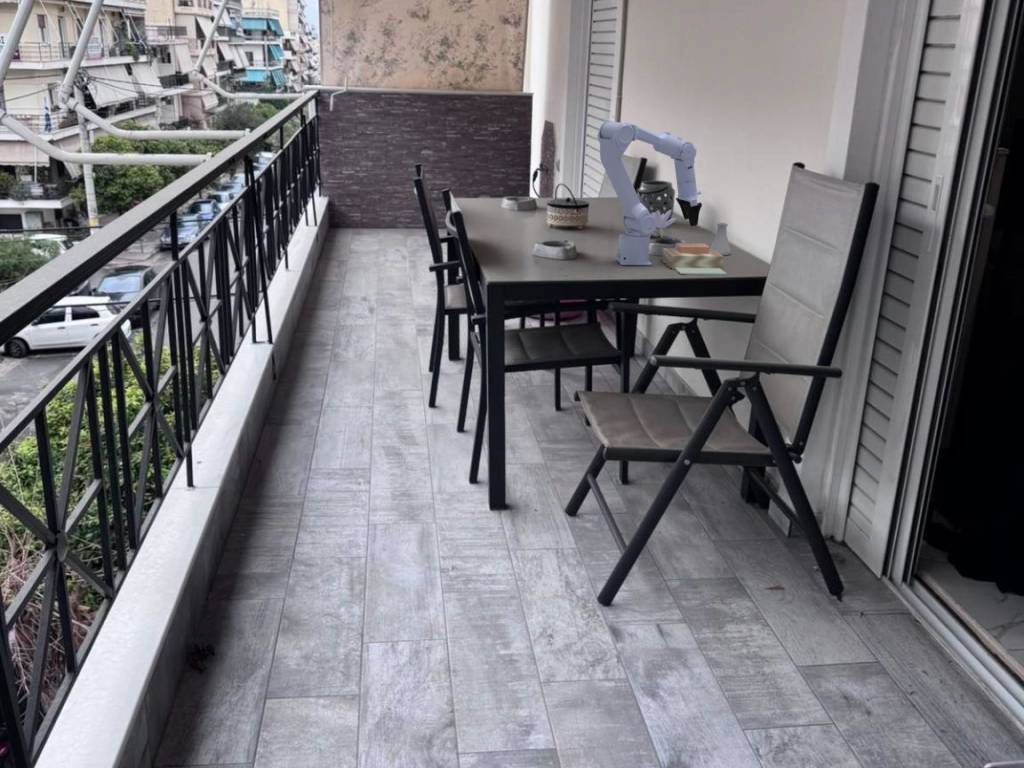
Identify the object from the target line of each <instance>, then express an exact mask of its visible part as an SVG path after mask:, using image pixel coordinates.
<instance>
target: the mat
mask: <svg viewBox="0 0 1024 768" xmlns="http://www.w3.org/2000/svg"><path fill="white" fill-rule="evenodd" d="M675 269H676V270H675ZM673 270H675V271H676V272H677V273H678V272H679V273H680V274H686V275H687V276H728V273H727V271H724V269H723V270H722V269H720V268H679V267H674V269H673ZM679 273H678V274H679ZM680 274H679V275H680ZM686 275H685V276H686Z"/></svg>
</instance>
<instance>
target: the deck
mask: <svg viewBox="0 0 1024 768" xmlns="http://www.w3.org/2000/svg"><path fill="white" fill-rule="evenodd" d="M724 261H725V255H721V254H720V253H718V252H717V251H716V250H714V249H710V251H709V254H689V253H679V252H678V251H677V250H676V247H663V248H662V255H661V262H663V263H664V264H665V263H666V264H667V265H668V266H669V267H670V268H674V267H679V268H720V269H722V270H723V271H724ZM666 264H665V265H666ZM667 265H666V266H667ZM668 266H667V267H668ZM669 267H668V268H669ZM670 268H669V269H670Z"/></svg>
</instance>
